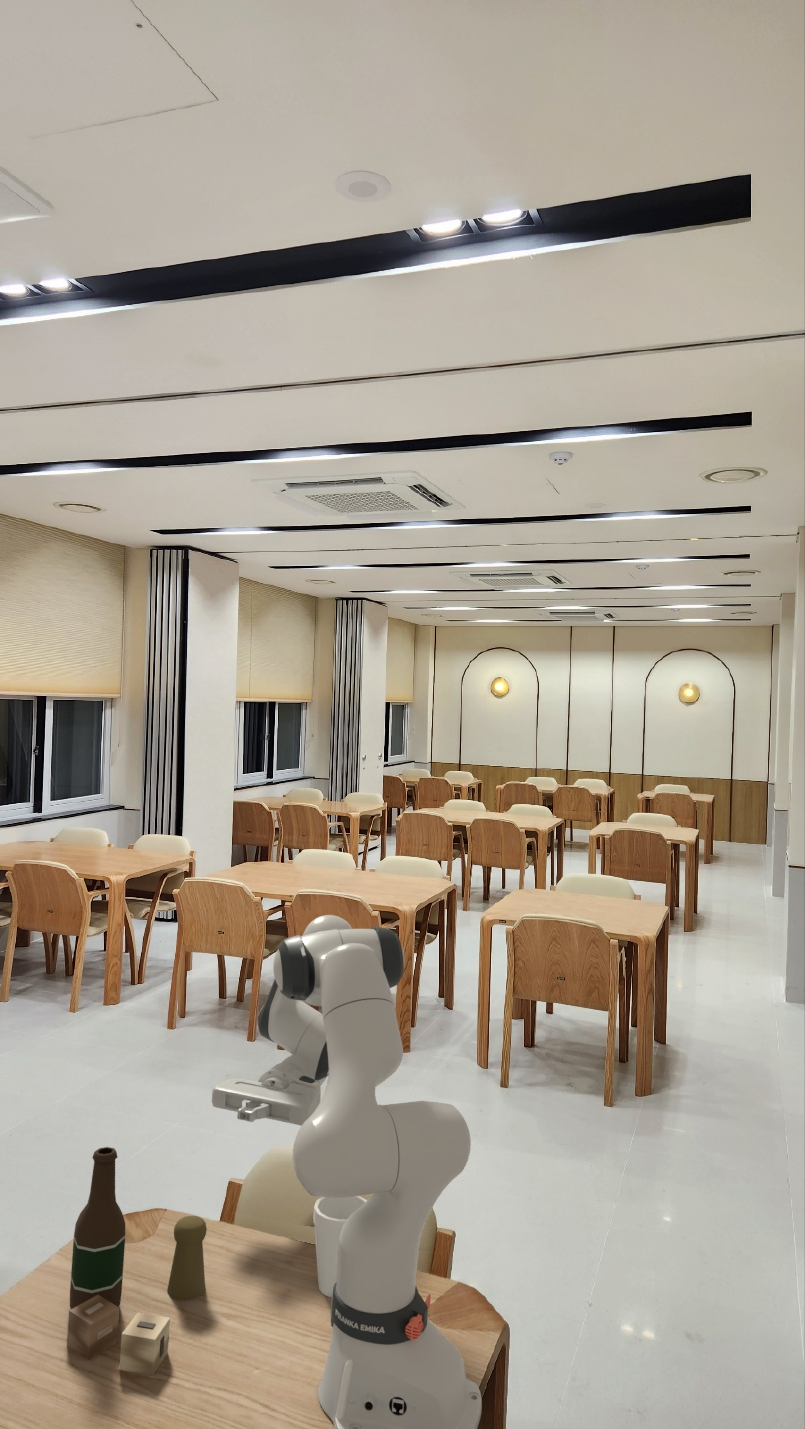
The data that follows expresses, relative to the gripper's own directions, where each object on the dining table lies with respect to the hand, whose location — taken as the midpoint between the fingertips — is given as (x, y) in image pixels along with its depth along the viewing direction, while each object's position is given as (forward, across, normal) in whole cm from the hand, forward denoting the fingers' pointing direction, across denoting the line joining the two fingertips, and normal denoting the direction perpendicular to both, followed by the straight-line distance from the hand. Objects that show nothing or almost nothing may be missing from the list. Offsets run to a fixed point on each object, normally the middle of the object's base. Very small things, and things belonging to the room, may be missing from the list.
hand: (244, 1116), depth 162 cm
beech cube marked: (+33, +4, +22) cm, 40 cm away
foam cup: (+5, +22, +22) cm, 32 cm away
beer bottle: (+26, -10, +22) cm, 36 cm away
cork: (+16, 0, +22) cm, 27 cm away
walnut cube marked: (+33, -5, +22) cm, 40 cm away
